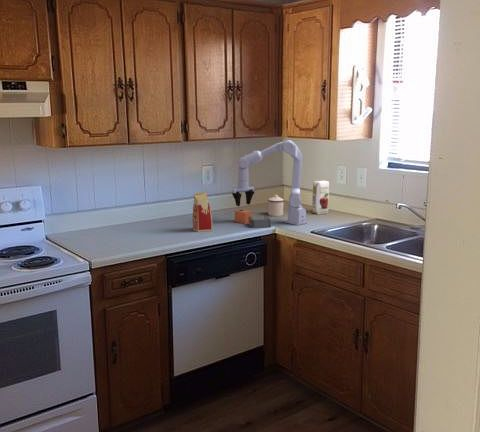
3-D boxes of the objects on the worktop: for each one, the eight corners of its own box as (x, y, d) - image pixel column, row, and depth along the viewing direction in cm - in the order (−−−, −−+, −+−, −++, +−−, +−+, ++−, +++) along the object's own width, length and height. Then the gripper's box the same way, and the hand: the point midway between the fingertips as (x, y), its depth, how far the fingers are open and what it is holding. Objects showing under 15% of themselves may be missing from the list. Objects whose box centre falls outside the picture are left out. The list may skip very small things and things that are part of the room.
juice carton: (310, 212, 312) (311, 180, 309) (322, 211, 316) (323, 180, 312) (317, 215, 306) (318, 182, 302) (329, 213, 309) (331, 181, 305)
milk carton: (207, 227, 274) (207, 188, 270) (213, 230, 265) (213, 191, 261) (190, 228, 271) (189, 189, 267) (195, 232, 262) (195, 192, 258)
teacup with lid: (286, 215, 304) (287, 195, 302) (273, 217, 300) (273, 196, 298) (275, 211, 315) (275, 192, 312) (262, 213, 310) (262, 193, 308)
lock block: (251, 222, 286) (251, 211, 285) (244, 223, 282) (245, 212, 281) (241, 220, 291) (241, 208, 290) (234, 221, 288) (234, 210, 287)
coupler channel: (270, 227, 274) (270, 219, 273) (251, 227, 272) (251, 220, 272) (266, 223, 283) (266, 215, 282) (248, 223, 282) (248, 216, 281)
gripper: (247, 178, 290) (247, 202, 293) (228, 180, 280) (228, 205, 283) (257, 179, 285) (256, 204, 288) (237, 181, 275) (237, 207, 278)
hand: (243, 205), depth 285 cm, fingers open, 7 cm apart
